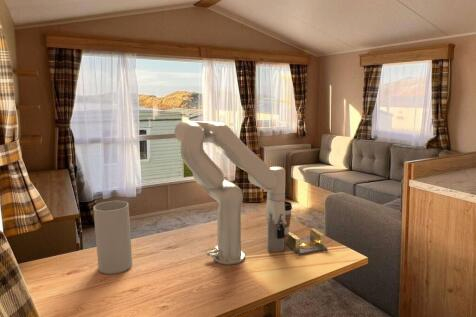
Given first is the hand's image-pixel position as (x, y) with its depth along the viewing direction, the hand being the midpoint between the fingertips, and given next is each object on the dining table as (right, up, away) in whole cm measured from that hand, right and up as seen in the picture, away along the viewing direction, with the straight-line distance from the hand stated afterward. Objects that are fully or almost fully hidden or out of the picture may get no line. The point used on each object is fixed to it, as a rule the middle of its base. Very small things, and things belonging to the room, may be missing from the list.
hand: (275, 234), depth 155 cm
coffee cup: (+5, -3, +18) cm, 19 cm away
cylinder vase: (-64, -10, -15) cm, 67 cm away
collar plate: (+13, -6, +2) cm, 15 cm away
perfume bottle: (0, -6, +1) cm, 6 cm away
